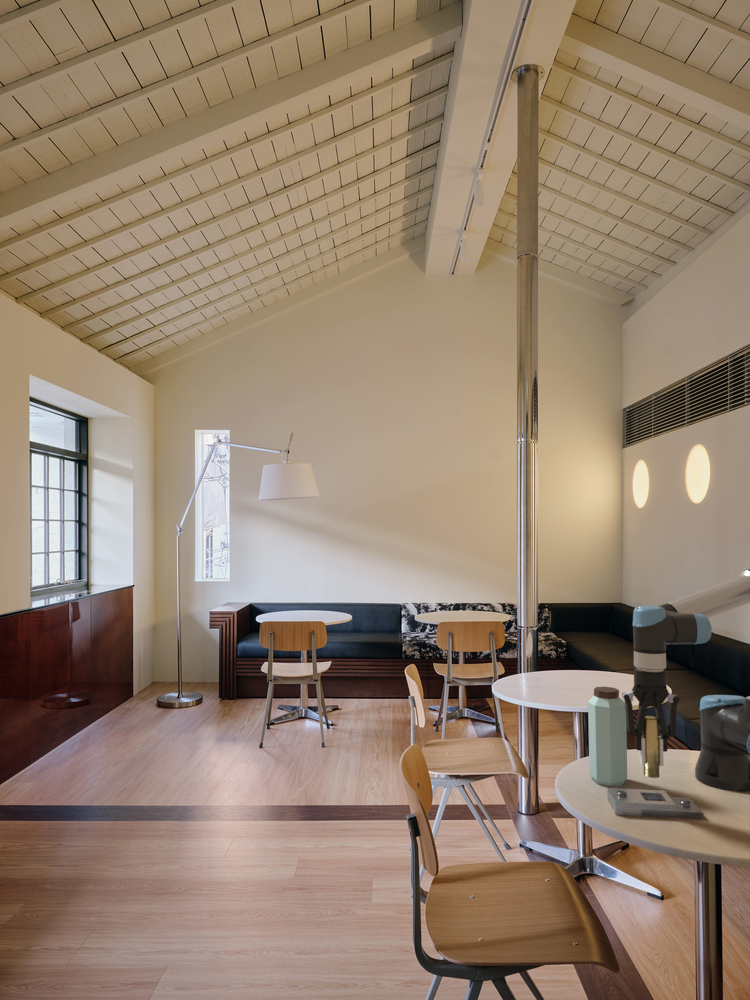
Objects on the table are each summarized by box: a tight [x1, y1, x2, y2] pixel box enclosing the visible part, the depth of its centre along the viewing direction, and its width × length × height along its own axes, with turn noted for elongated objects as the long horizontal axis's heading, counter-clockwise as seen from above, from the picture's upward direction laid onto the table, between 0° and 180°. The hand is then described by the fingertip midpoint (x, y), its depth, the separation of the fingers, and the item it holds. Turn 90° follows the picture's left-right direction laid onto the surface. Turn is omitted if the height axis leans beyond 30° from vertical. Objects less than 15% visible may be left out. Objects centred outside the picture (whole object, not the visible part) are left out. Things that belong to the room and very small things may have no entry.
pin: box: [642, 715, 660, 779], centre depth 164 cm, size 4×4×14 cm
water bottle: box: [587, 686, 628, 787], centre depth 182 cm, size 10×10×25 cm
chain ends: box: [607, 787, 703, 820], centre depth 163 cm, size 20×9×4 cm, turn 82°
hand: (651, 763), depth 163 cm, fingers closed on pin, 3 cm apart
